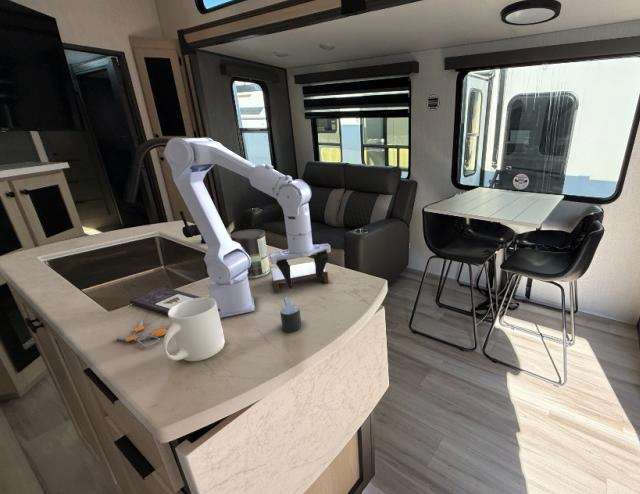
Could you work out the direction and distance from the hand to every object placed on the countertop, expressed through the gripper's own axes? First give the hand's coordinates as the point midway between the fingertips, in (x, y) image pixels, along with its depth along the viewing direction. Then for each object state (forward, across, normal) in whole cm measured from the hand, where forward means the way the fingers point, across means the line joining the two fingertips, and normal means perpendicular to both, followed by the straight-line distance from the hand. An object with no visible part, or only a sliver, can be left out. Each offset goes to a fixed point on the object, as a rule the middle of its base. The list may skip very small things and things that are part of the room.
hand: (304, 283), depth 81 cm
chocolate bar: (+9, -31, +28) cm, 43 cm away
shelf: (+9, +4, +21) cm, 23 cm away
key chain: (+9, -36, +12) cm, 39 cm away
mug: (+9, -26, -3) cm, 27 cm away
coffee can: (+9, -6, +37) cm, 38 cm away
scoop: (+9, -5, -2) cm, 10 cm away
